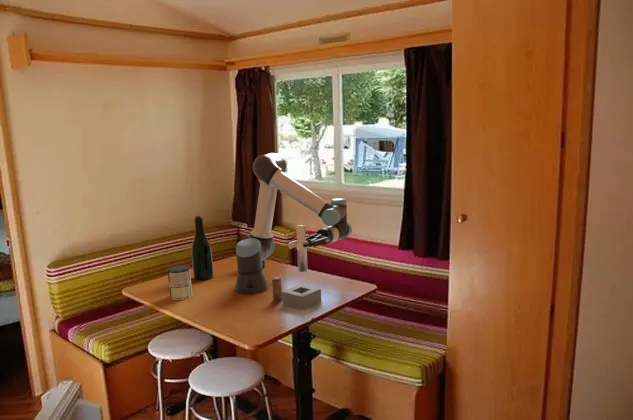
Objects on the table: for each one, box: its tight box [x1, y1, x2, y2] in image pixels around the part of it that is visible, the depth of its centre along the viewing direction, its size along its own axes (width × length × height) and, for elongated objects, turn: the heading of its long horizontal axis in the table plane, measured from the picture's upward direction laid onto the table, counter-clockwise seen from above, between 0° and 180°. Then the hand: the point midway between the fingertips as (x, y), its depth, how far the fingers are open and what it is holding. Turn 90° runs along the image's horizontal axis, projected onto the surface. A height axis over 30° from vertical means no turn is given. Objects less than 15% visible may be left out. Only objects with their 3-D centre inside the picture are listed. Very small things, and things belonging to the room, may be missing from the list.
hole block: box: [282, 283, 322, 311], centre depth 217 cm, size 12×12×6 cm
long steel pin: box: [295, 224, 309, 273], centre depth 217 cm, size 4×4×20 cm
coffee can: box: [166, 263, 194, 301], centre depth 233 cm, size 10×10×14 cm
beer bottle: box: [191, 215, 215, 281], centre depth 259 cm, size 10×10×33 cm
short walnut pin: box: [271, 276, 283, 303], centre depth 223 cm, size 4×4×10 cm
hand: (293, 246), depth 212 cm, fingers closed on long steel pin, 4 cm apart
